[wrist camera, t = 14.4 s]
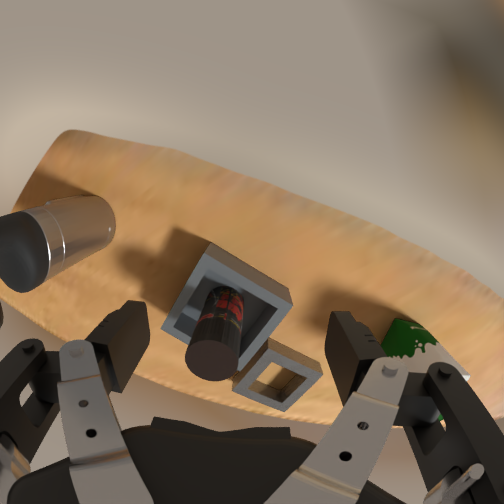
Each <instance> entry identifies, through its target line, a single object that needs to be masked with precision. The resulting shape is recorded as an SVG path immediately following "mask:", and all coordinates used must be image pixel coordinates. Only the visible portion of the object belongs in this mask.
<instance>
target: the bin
mask: <svg viewBox="0 0 504 504" xmlns="http://www.w3.org/2000/svg"><path fill="white" fill-rule="evenodd" d="M220 286H228V287H232V288H234V289H235V290H237V291H238V292H239V293H240V294H241V296H242V298H243V301H244V308H243V319H242V330H241V340H240V351H239V362H238V368H237V370H238V371H241V370H242V369H243V368H244V366H245V365H246V364H247V363H248V362H249V361H250V359H251V358H252V357H253V356H254V354H255V353H256V352H257V351H258V350H259V348H260V347H261V346H262V345H263V343H264V342H265V341H266V340H267V338H268V337H269V336H270V335H271V333H272V332H273V331H274V330H275V328H276V327H277V326H278V325H279V323H280V322H281V321H282V319H283V318H284V317H285V316H286V314H287V313H288V312H289V310H290V309H291V308H292V306H293V303H292V299H291V296H290V292H289V289H288V288H287V287H285V286H283V285H282V284H280V283H278V282H277V281H275V280H273V279H271V278H270V277H268V276H266V275H265V274H263V273H262V272H260V271H258V270H257V269H255V268H253V267H252V266H250V265H248V264H247V263H245V262H243V261H242V260H240V259H238V258H237V257H235V256H233V255H232V254H230V253H228V252H227V251H225V250H224V249H222V248H220V247H219V246H217V245H215V244H214V243H212V242H211V243H210V244H209V246H208V247H207V249H206V250H205V252H204V254H203V255H202V257H201V259H200V260H199V262H198V264H197V265H196V267H195V269H194V271H193V272H192V274H191V276H190V277H189V279H188V281H187V283H186V284H185V286H184V288H183V290H182V291H181V293H180V295H179V297H178V298H177V300H176V302H175V304H174V305H173V307H172V309H171V311H170V312H169V314H168V316H167V318H166V320H165V321H164V323H163V325H162V327H161V329H162V330H163V331H165V332H167V333H168V334H170V335H172V336H174V337H175V338H177V339H179V340H181V341H182V342H184V343H186V344H188V345H189V343H190V340H191V337H192V335H193V332H194V329H195V327H196V324H197V321H198V319H199V316H200V314H201V311H202V308H203V306H204V303H205V301H206V298H207V296H208V294H209V292H210V291H212V290H213V289H214V288H216V287H220Z"/></svg>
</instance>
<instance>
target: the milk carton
mask: <svg viewBox="0 0 504 504" xmlns="http://www.w3.org/2000/svg"><path fill="white" fill-rule="evenodd" d="M380 346H381V347H382V349H383V350H384V352H385V354H386V355H387V357H391V358H395V359H398V360H400V361H401V362H403V363H404V364H405V365H406V366H407V368H408V371H409V372H416V373H426V372H427V370H428V368H429V366H430V365H431V364H432V363H435V362H445V363H448V364H451V365H452V366H454V367H455V368H456V369H457V370H458V371H459V372H460V374H461V375H462V376H463V378H464V379H465V380H466V381H468V379H469V378H470V376H471V375H470V374H469V373H468V372H467V371H466V370H465V369H464V368H463V367H462V366H461V365H460V364H459V363H458V362H457V361H456V360H455V359H454V358H453V357H452V356H451V355H450V354H449V353H448V352H447V351H446V349H445V348H444V347H443V346H442V345H441V344H440V343H439V342H438V341H437V340H436V339H435V338H434V337H433V336H432V335H431V334H430V333H429V332H428V331H427V330H426V329H425V328H424V327H423V326H421V325H420V324H417V323H413V322H409V321H405V320H401V319H397V318H395V320H394V321H393V323H392V325H391V327H390V329H389V331H388V333H387V335H386V336H385V338H384V340H383V342H382V344H381V345H380ZM438 419H439V421H441V420H443V417H442V415H441V414H440V415H439V417H438Z"/></svg>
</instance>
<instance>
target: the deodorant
mask: <svg viewBox="0 0 504 504" xmlns="http://www.w3.org/2000/svg"><path fill="white" fill-rule="evenodd" d="M243 308H244V301H243V298H242V296H241V294H240V293H239V292H238V291H237V290H235V289H234V288H232V287H228V286H220V287H216V288H214V289H213V290H212V291H210V292H209V294H208V296H207V298H206V301H205V303H204V306H203V308H202V311H201V314H200V316H199V319H198V321H197V324H196V327H195V329H194V332H193V335H192V337H191V340H190V343H189V345H188V348H187V351H186V354H185V362H186V364H187V367H188V368H189V369H190V371H191V372H192V373H194V374H195V375H196V376H198V377H200V378H202V379H205V380H208V381H222V380H225V379H228V378H229V377H231V376H233V374H234V373H235V372H236V371H237V368H238V362H239V351H240V340H241V330H242V319H243Z"/></svg>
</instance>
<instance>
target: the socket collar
mask: <svg viewBox="0 0 504 504" xmlns="http://www.w3.org/2000/svg"><path fill="white" fill-rule="evenodd" d="M271 362H274V363H276V364H278V365H280V366H282V367H284V368H286V369H289V370H291V371H293V372H295V373H297V375H296V376H295V377H294V378H293V379H292V380H291V381H290V382H289V383H288V384H287V385H286V386H285V387H284V388H283V389H282V390H281V391H280V390H277V389H275V388H273V387H270V386H268V385H266V384H263V383H261V382H259V381H257V380H256V379H257V378H258V376H259V375H260V374H261V373H262V372H263V371H264V370H265V369H266V368H267V366H268V365H269V364H270V363H271ZM322 375H323V372H322V369H321V365H320V363H319V362H317V361H315V360H313V359H311V358H309V357H307V356H305V355H303V354H301V353H299V352H297V351H295V350H293V349H291V348H289V347H287V346H285V345H283V344H281V343H279V342H277V341H275V340H273V339H271V338H269V337H268V338H267V340H266V341H265V342H264V343H263V345H262V346H261V347H260V348H259V350H258V351H257V352H256V353H255V354H254V356H253V357H252V358H251V359H250V361H249V362H248V363H247V364H246V365H245V366H244V368H243V369H242V370H241V371H239V372H238V373H237V375H236V376H235V377H234V378H233V384H232V391H233V392H236V393H238V394H240V395H243V396H245V397H247V398H250V399H252V400H254V401H257V402H259V403H262V404H264V405H267V406H269V407H272V408H275V409H277V410H280V411H283V412H285V411H286V410H287V409H288V408H289V407H290V406H292V405H293V404H294V403H295V402H296V401H297V400H298V399H299V398H300V397H301V396H302V395H303V394H304V393H305V392H306V391H307V390H308V389H309V388H310V387H311V386H312V385H313V384H314V383H315V382H316V381H317V380H318V379H319V378H320V377H321V376H322Z"/></svg>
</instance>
